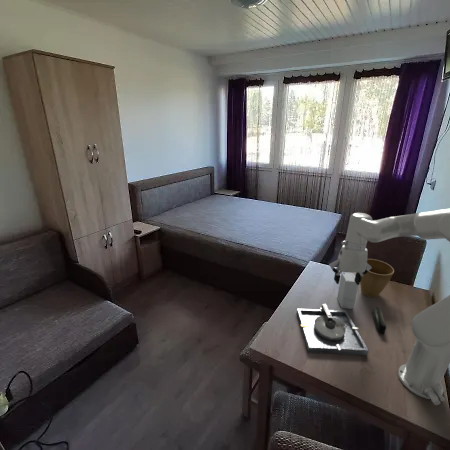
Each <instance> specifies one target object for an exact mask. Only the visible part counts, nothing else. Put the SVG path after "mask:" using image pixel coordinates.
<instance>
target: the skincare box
mask: <svg viewBox="0 0 450 450" xmlns="http://www.w3.org/2000/svg"><path fill="white" fill-rule="evenodd" d="M355 276H356V274H355V273H353V272H342V273H341V275H340V281H339V284H338V285H339V287H338V291H337V297H336V298H337V301H338V304H339V306H340V308H341V309H342V308H343V309H350V310H354V307H355V303H356V298H357V297H356V296H357V293H358V288H359V285H357V284H356V282H355V281H354V280H355Z"/></svg>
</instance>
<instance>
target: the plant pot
mask: <svg viewBox="0 0 450 450" xmlns="http://www.w3.org/2000/svg"><path fill="white" fill-rule="evenodd" d="M367 263H368V264H369V265H370V266H371V267H372V268H371V269H370V270H369V271H368V272H367V273H366V274H364V276H363V277H362V278H361V282H360V284H359V285H360V289H361V292H362V294H363V295H365V296H366V297H369V298H377V297H378V296H379V295H380V294H381V292H383V291H384V289H385V288H386V286H387V285H388V284H389V282H390V280H391V278H392V276H393V275H394V273H395V269H394V268H393V267H392V266H391V264H388V263H387V262H384V261H382V260H379V259H375V258H374V259H373V258H367Z"/></svg>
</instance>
